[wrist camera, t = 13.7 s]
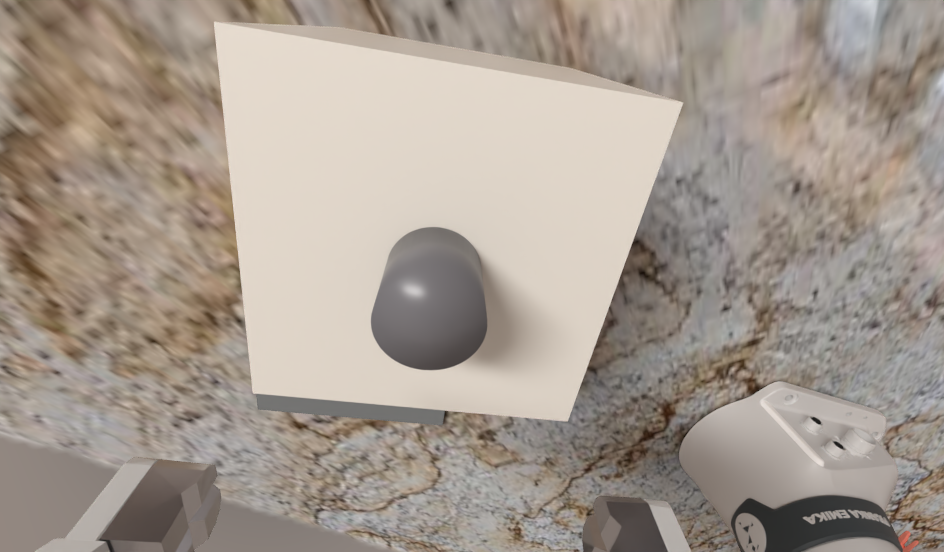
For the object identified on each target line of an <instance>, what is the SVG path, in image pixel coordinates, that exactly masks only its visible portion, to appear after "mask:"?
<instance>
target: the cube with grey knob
mask: <svg viewBox="0 0 944 552" xmlns="http://www.w3.org/2000/svg"><path fill="white" fill-rule="evenodd" d="M214 28H215V38H216V47H217V57H218V66H219V76H220V85H221V95H222V104H223V114H224V123H225V133H226V142H227V152H228V161H229V171H230V180H231V190H232V199H233V209H234V218H235V228H236V237H237V247H238V256H239V266H240V275H241V285H242V294H243V304H244V313H245V323H246V332H247V342H248V351H249V361H250V370H251V380H252V389H253V393H255V394H266V395H277V396H289V397H300V398H311V399H322V400H333V401H344V402H356V403H367V404H378V405H389V406H400V407H411V408H423V409H434V410H445V411H456V412H467V413H478V414H490V415H501V416H512V417H523V418H534V419H545V420H557V421H568V419H569V416H570V414H571V411H572V408H573V405H574V402H575V400H576V397H577V394H578V391H579V389H580V386H581V383H582V380H583V378H584V375H585V372H586V369H587V367H588V364H589V361H590V358H591V356H592V353H593V350H594V347H595V345H596V342H597V339H598V336H599V334H600V331H601V328H602V325H603V322H604V320H605V317H606V314H607V311H608V309H609V306H610V303H611V300H612V298H613V295H614V292H615V289H616V287H617V284H618V281H619V278H620V276H621V273H622V270H623V267H624V265H625V262H626V259H627V256H628V254H629V251H630V248H631V245H632V243H633V240H634V237H635V234H636V231H637V229H638V226H639V223H640V220H641V218H642V215H643V212H644V209H645V207H646V204H647V201H648V198H649V196H650V193H651V190H652V187H653V185H654V182H655V179H656V176H657V174H658V171H659V168H660V165H661V163H662V160H663V157H664V154H665V152H666V149H667V146H668V143H669V140H670V138H671V135H672V132H673V129H674V127H675V124H676V121H677V118H678V116H679V113H680V110H681V107H682V105H683V102H680V101H676V100H673V99H670V98H667V97H663V96H660V95H657V94H654V93H650V92H647V91H644V90H641V89H637V88H634V87H631V86H628V85H624V84H621V83H618V82H615V81H611V80H608V79H605V78H602V77H598V76H595V75H592V74H589V73H585V72H582V71H579V70H576V69H572V68H568V67H563V66H557V65H551V64H546V63H540V62H534V61H529V60H523V59H517V58H512V57H506V56H500V55H495V54H489V53H483V52H478V51H472V50H466V49H461V48H455V47H449V46H444V45H438V44H432V43H427V42H421V41H415V40H410V39H404V38H398V37H393V36H387V35H381V34H376V33H370V32H364V31H359V30H353V29H347V28H342V27H323V26H300V25H278V24H256V23H234V22H214Z"/></svg>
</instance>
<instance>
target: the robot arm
mask: <svg viewBox="0 0 944 552" xmlns="http://www.w3.org/2000/svg"><path fill="white" fill-rule="evenodd" d="M885 428H886V418H885V416H884V415H883V414H882V413H881V412H880V411H878V410H876V409H873V408H870V407H866V406H863V405H860V404H856V403H853V402H850V401H846V400H843V399H840V398H836V397H833V396H830V395H826V394H823V393H820V392H816V391H813V390H810V389H806V388H803V387H800V386H796V385H793V384H789V383H786V382H782V381H779V382H774V383H772V384H769V385H768V386H766V387H764V388H763V389H761V390H759V391H758V392H756V393H755V394H753V395H752V396H750V397H748V398H745V399H742V400H739V401H736V402H733V403H730V404H728V405H725V406H723V407H721V408H719V409H717V410H715V411H713V412H711V413H710V414H708V415H707V416H705V417H704V418H703V419H701V420H700V421H699V422H698V423H696V424H695V425H694V426H693V427H692V429H691V430H690V431H689V432H688V433H687V435H686V436H685V438H684V440H683V442H682V444H681V447H680V451H679V461H680V464H681V466H682V468H683V470H684V471H685V472H686V473H687V474H688V475H689V476H690V477H691V479H692V480H693V481H694V482H695V483H696V484H697V486H698V487H699V488H700V491H701V492H702V494H703V495H704V497H705V498H706V499H707V500H708V501H710V503H711V504H712V505H713V507H714V508H715V510H716V511H717V513H718V514H719V515H720V517H721V518H722V520H723V521H724V523H725V524H726V525H727V527H728V528H729V530H730V531H731V533H732V534H733V535H734V537H735V538H736V541H737V543H738V546H739V548H740V551H741V552H910V551H911V550H912V549H913V548H914V547H915V546H916V545H917V544H918V543H919V542H918V541H914V542H912V543H911V544H909V545H908V546H906V547H905V546H904V544H905V543H906V542H907V540H908V538H909V536H910V532H909V531H905V532H904V533H903V534H902V535H901V536H900V537H899V538H898V537H897V535H896V533H895V531H894V529H893V527H892V525H891V523H890V521H889V520H888V518H887V516H886V514H885V511H886V508H887V505H888V503H889V500H890V497H891V495H892V492H893V490H894V488H895V485H896V483H897V479H898V469H897V465H896V463H895V461H894V460H893V458H892V457H891V456H890V455H889V453H888V452H887V451H886V450H885V449H884V448H883V447H882V446H881V445H880V444H879V442H880V440H881V439H882V437H883V434H884V431H885ZM217 476H218V475H217V471H216V467H215V465H211V464H201V463H191V462H181V461H171V460H162V459H151V458H139V457H133V458H132V459H130V460H129V461H128V462H126V463H125V464H124V465H123V466H122V467H121V468H120V469H119V471H118V472H117V473H116V475H115V476H114V477H113V478H112V480H111V481H110V482H109V483H108V485H107V486H106V487H105V489H104V490H103V491H102V492H101V493H100V495H99V496H98V497H97V499H96V500H95V501H94V502H93V504H92V505H91V506H90V508H89V509H88V510H87V511H86V512H85V514H84V515H83V516H82V518H81V519H80V520H79V521H78V523H77V524H76V525H75V526H74V528H73V529H72V530H71V531H70V533H69V534H68V535H67V537H66V538H55V539H54V540H52V541H51V542H49V543H47V544H46V545H44V546H43V547H41V548H39V549H38V550H36V551H34V552H194V550H195V549H196V548H197V547H198V546H200V545H201V544H203V543H204V542H205V541H206V540H208V539H209V537H210V534H211V532H212V530H213V528H214V526H215V524H216V521H217V517H218V514H219V511H220V505H221V493H220V489H219V488H217V487H216V486H215V485H214V484H213V483H214V481H215V479H216V478H217ZM593 508H594V512H595V513H594V514H593V515H591V516H589V517H588V518H587V519H586V522H585V524H584V527H583V537H582V543H583V552H691V550H690V547H689V545H688V543H687V541H686V539H685V537H684V534H683V532H682V530H681V528H680V526H679V524H678V521H677V519H676V517H675V515H674V513H673V510H672V508H671V506H670V505H669V504H668V503H667V502H666V501H662V500H648V499H641V498H630V497H614V496H599V497H597V498H596V499H595V502H594V504H593Z"/></svg>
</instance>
